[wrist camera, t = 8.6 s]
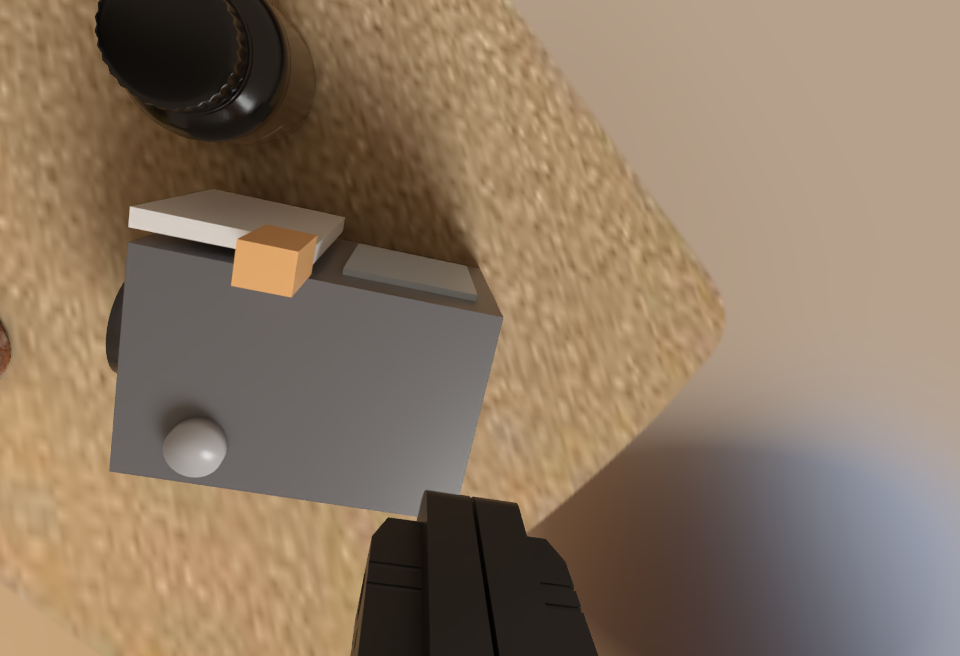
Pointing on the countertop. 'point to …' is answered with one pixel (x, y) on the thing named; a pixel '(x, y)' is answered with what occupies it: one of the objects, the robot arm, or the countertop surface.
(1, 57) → the countertop surface
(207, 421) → the box
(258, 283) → the door
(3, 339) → the sauce bottle
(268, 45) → the supplement bottle
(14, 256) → the countertop surface
